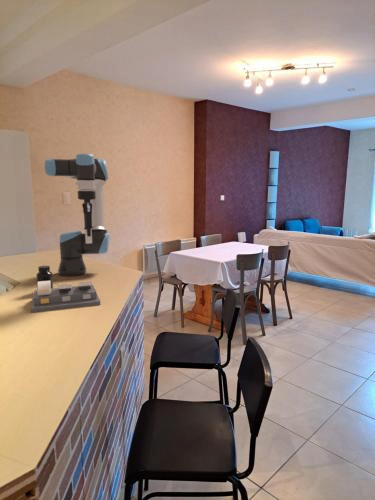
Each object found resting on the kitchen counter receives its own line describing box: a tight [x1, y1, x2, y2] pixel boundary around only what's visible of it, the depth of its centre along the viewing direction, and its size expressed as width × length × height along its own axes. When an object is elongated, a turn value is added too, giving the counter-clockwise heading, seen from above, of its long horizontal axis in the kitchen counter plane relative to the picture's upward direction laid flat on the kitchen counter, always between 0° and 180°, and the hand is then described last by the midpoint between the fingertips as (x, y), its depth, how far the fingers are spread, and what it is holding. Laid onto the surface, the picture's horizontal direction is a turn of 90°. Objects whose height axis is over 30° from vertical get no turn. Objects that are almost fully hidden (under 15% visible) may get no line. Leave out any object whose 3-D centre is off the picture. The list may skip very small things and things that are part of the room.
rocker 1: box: [38, 281, 51, 296], centre depth 143 cm, size 9×5×2 cm, turn 22°
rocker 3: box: [77, 280, 93, 287], centre depth 149 cm, size 9×5×2 cm, turn 22°
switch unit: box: [30, 284, 101, 313], centre depth 145 cm, size 16×26×6 cm, turn 112°
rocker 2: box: [57, 282, 73, 289], centre depth 146 cm, size 9×5×2 cm, turn 22°
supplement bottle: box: [35, 265, 54, 290], centre depth 159 cm, size 7×7×12 cm
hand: (88, 243), depth 158 cm, fingers closed
